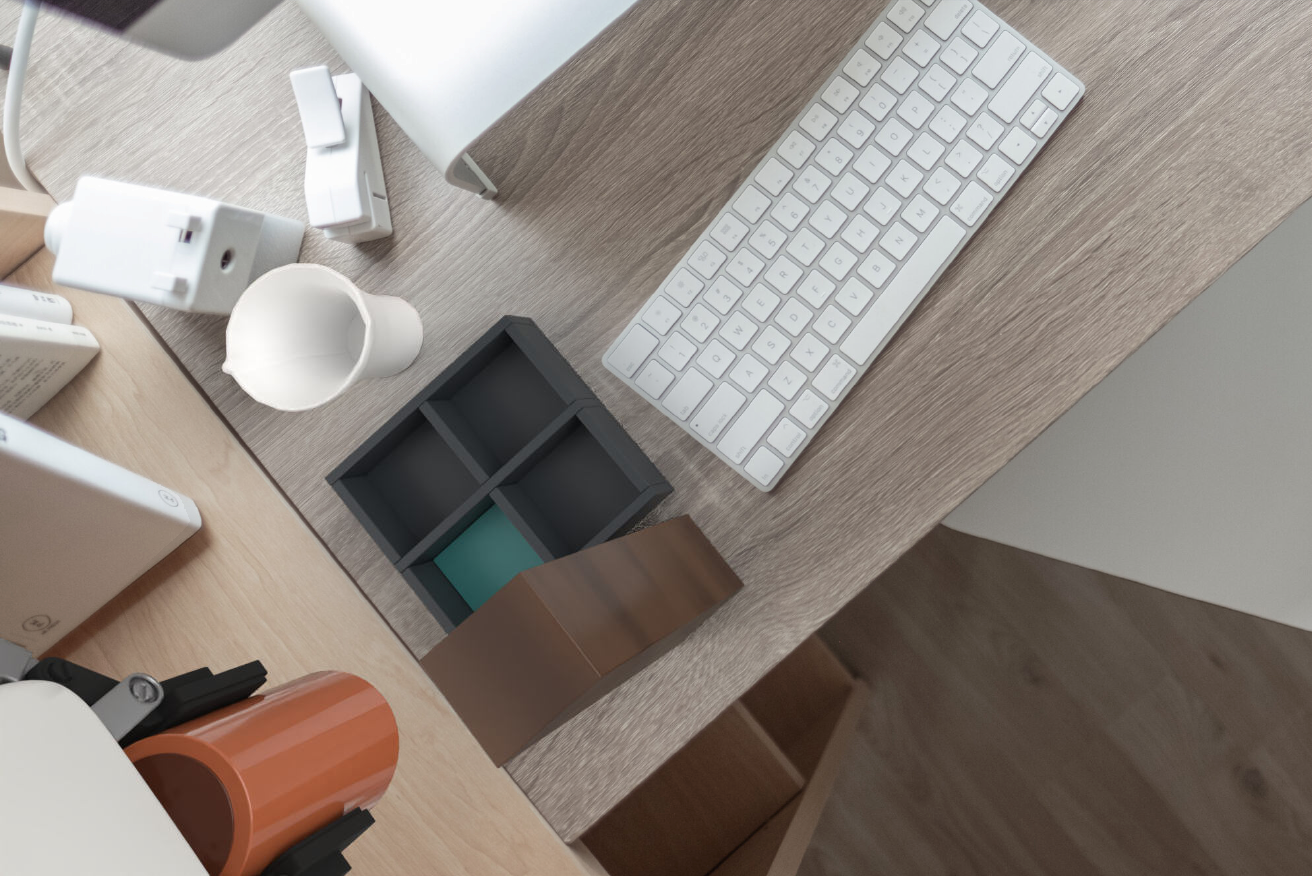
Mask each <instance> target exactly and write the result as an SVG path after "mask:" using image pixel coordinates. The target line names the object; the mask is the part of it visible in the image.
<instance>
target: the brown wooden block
mask: <svg viewBox="0 0 1312 876" xmlns="http://www.w3.org/2000/svg"><path fill="white" fill-rule="evenodd" d="M744 587H745V584H744V582H743V581H742V579H740V577H739V576H738V575H737V573H736V572H735V571H734V570H733V568H732V567H731V566H730V564H728V562H727V561H726V560H725V558H724V557H723V556H722V555H721V554H720V552H719V551H718V550H717V549H716V547H715V546H714V545H713V544H712V542H711V541H710V539H709V538H708V537H707V536H706V535H705V533H704V532H703V531H702V529H700V527H699V526H698V525H697V524H696V522H695V521H694V520H693V519H692V518H691V516H690V515H689V513H686V514H683V515H679V516H677V517H674V518H671V519H668V520H665V521H662V522H660V523H657V524H653V525H651V526H648V527H645V528H642V529H639V530H637V531H634V532H631V533H627V534H626V535H625V536H622V537H619V538H616V539H613V540H611V541H608V542H605V543H602V544H599V545H596V546H593V547H590V548H588V549H585V550H582V551H579V552H576V553H573V554H570V555H567V556H565V557H562V558H559V559H556V560H553V561H550V562H547V563H544V564H542V565H539V566H536V567H533V568H530V569H527V570H524V571H521V572H519V573H518V574H517V575H516V576H515V577H513V578H512V579H511V580H510V581H509V582H508V583H507V584H506V585H504V586H503V587H502V588H501V589H500V590H499V591H498V592H496V593H495V594H494V595H493V596H492V597H491V598H490V599H488V600H487V601H486V602H485V603H484V604H483V605H482V606H480V607H479V608H478V609H477V610H476V611H475V612H474V613H472V614H471V615H470V616H469V617H468V618H467V619H466V620H464V621H463V622H462V623H461V624H460V625H459V626H458V627H456V628H455V629H454V630H453V631H452V632H451V633H450V634H449V635H448V634H446V636H445V637H443V638H442V640H441V641H439V642H438V643H437V644H436V645H435V646H434V647H432V648H431V649H430V650H429V651H428V652H427V653H425V655H423V656H422V657H421V658H419V660H418V664H419V665H420V666H421V668H422V669H423V670H424V672H425V674H427V676H428V677H429V678H430V680H431V681H432V683H433V685H435V687H436V688H437V690H438V691H439V692H440V693H441V695H442V696H443V697H444V699H445V700H446V701H447V703H448V704H449V705H450V707H451V708H452V710H453V711H454V712H455V714H456V715H457V716H458V717H459V719H460V721H461V722H462V724H464V726H465V727H466V729H467V730H468V731H469V733H470V734H471V735H472V737H473V738H474V739H475V740H476V742H477V744H478V745H479V746H480V747H481V748H482V750H483V752H484V753H485V754H486V755H487V757H488V758H489V759H490V761H491V763H493V765H494V766H495V767H496V769H501V768H502V767H503V766H505V765H506V764H508V763H509V762H511V761H512V760H513V759H515V758H516V757H518V756H520V755H521V754H522V753H524V752H525V751H527V750H528V749H530V748H532V746H534V745H536V744H537V743H539V742H540V741H542V740H543V739H544V738H545V737H547V736H549V735H550V734H551V733H552V732H554V731H556V730H557V729H559V728H560V727H561V726H563V725H564V724H566V723H568V722H569V721H570V720H573V718H575V717H577V716H578V715H580V713H582V712H584V711H585V710H586V709H588V708H590V707H591V706H593V705H594V704H595V703H597V702H599V700H601V699H603V698H604V697H606V696H607V695H608V694H610V693H611V692H613V691H614V690H616V689H617V688H618V687H620V686H622V685H623V684H624V683H626V682H627V681H629V680H630V679H632V678H633V677H634V676H636V675H638V674H639V673H641V672H642V671H643V670H645V669H646V668H648V667H649V666H650V665H652V664H654V663H655V662H656V661H658V660H660V659H661V658H662V657H664V656H665V655H667V654H668V653H670V652H671V651H672V650H674V649H676V648H677V647H678V646H679V645H680V644H681V643H682V642H683V641H685V640H686V639H687V638H688V637H689V636H690V635H691V634H692V633H694V632H695V631H696V630H697V629H698V628H699V627H700V626H701V625H703V624H704V622H706V621H707V620H708V619H709V618H711V617H712V616H713V615H714V614H715V613H716V612H718V610H719V609H721V607H723V606H724V605H725V604H727V602H728V601H729V600H731V598H733V597H734V596H735V595H736V594H737V593H739V592H740V590H742V589H743V588H744Z"/></svg>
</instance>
